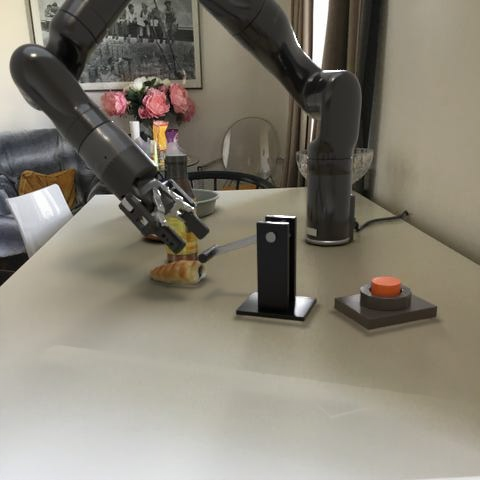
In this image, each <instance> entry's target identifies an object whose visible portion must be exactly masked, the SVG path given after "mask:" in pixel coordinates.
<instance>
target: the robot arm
mask: <svg viewBox="0 0 480 480" xmlns="http://www.w3.org/2000/svg"><path fill="white" fill-rule="evenodd" d="M131 1H132V0H64V2H63V3H62V4H61V5H60V7H59V8H58V10H57V11H56V12H55V13H54V15H53V16H52V18H51V20H50V22H49V24H48V39H47V43H46V45H45V46H44V45H42V44H39V43H33V42H32V43H31V42H30V43H24V44H21V45H19V46H17V48H15V49H14V50H13V51H12V54H11V56H10V59H9V66H8V67H9V68H8V69H9V74H10V77H11V79H12V82H13V84H14V85H15V86H16V88H17V89H18V91H19V93H20V95H21V96H22V98H23V99H24V101H25V102H26V103H27V105H29V106H30V107H31V108H33V109H34V110H36V111H38V112H42V113H43V114H45V115H46V117H48V119H49V120H50V121H51V122H52V124H53V126H54V128H55V129H56V130H57V132H58V133H59V135H60V136H61V137H62V139H63V140H64V141H65V142H66V143H67V144H68V145H69V146H70V147H71V148H72V149H73V150H74V151H75V152H76V154H78V155H79V157H80V158H81V159H82V161H83V162H84V163H85V165H86V166H87V167H88V169H89V170H90V171H91V172H92V173H93V174H94V175H95V176H96V177H97V178H98V179H99V180H100V181H101V183H102V184H104V185H105V187H106V188H107V189H108V190H109V191H110V192H111V193H112V194H113V195H114V196H115V197H116V198H117V199H118V200H119V201H120V203H119V204H118V208H119V210H120V211H121V212H122V213H123V214H124V215H125V216H126V218H128V219H129V220H130V222H131V223H132V224H133V225H134V226H135V227H136V229H137V230H138V231H139V232H140V234H141V233H142V234H143V235H144V236H148V235H149V234H152V235H153V236H155V237H157V236H158V237H159V238H160V239H161V240H162V243H164V245H165V244H166V245H167V246H168V247H169V249H170V250H171V251H172V252H173V253H174V254H178V253H180V252H181V251H182V250H183V249H184V248H185V246H186V242H185V241H184V240H183V239H182V238H181V237H180V236H179V235H178V234H177V233H176V232H175V231H174V230H173V229H172V227H171V226H170V225H169V226H167V222H166V219H165V217H164V216H165V215H166V216H168V217H170V218H172V217H175V218H177V219H179V220H181V221H182V222H185V223H184V224H185V225H186V226H187V227H188V228H189V229H190V231H191V232H192V233H193V234H194V235H195V236H196V237H197V238H198V241H199V240H200V241H201V240H203V239H205V238H206V236H207V235H208V234H209V233H210V228H209V227H208V226H207V225H206V223H204V222H203V221H202V219H200V217H197V215H196V214H195V213H194V212H195V210H194V209H195V208H196V207H197V205H196V203H195V202H194V201H193V200H192V199H191V198H190V197H189V196H188V195H187V194H186V193H185V192H184V191H183V190H182V189H181V188H180V187H179V186H178V185H177V184H176V183H175V182H174V181H173V180H172V179H169V180H168V179H167V181H166V182H165V183H164V182H163V183H162V182H161V181H160V180H159V179H158V178H157V173H158V165H157V164H156V163H155V161H154V160H152V159H151V157H150V156H149V155H148V154H147V153H146V152H145V151H144V150H143V149H142V148H141V147H140V146H139V145H138V144H137V143H136V142H135V141H134V139H133V138H132V137H131V136H130V135H129V134H128V133H127V132H126V131H124V130H123V129H122V128H121V127H120V126H119V125H118V124H116V123H115V121H113V120H112V118H111V117H110V116H109V115H108V114H107V113H106V112H105V111H104V110H103V109H102V108H101V107H100V106H99V105H98V104H97V103H96V102H95V101H94V100H93V99H92V98H91V97H90V96H89V94H87V93H86V92H85V90H84V89H83V87H82V85H81V84H80V83H79V81H80V79H81V77H82V75H83V73H84V71H85V68H86V66H87V63H88V61H89V60H90V57H91V56H92V54H93V53H94V52H95V51H96V50H97V49H98V47H99V46H100V44H101V43H102V42H103V41H104V40H105V38H106V36H107V35H108V34H109V32H111V30H112V28H113V27H114V26H115V24H116V23H117V22H118V20H119V18H120V17H121V16H122V14H123V13H124V12H125V10H126V9H127V7H128V6H129V4H130V3H131ZM196 1H197V3H198V4H200V5H201V7H203V8H204V9H205V10H206V12H208V13H209V15H210V16H212V17H213V18H214V19H215V20H216V21H217V22H218V24H220V25H221V27H223V28H224V30H226V32H227V33H228V34H229V35H230V36H231V37H232V38H233V39H234V40H235V41H236V42H237V43H238V44H239V45H240V46H241V47H242V48H243V49H244V50H245V51H247V52H248V53H249V54H250V55H251V56H252V57H253V58H254V59H255V60H256V61H257V62H258V63H259V64H260V65H261V66H262V67H263V68H264V69H265V70H266V71H267V72H268V73H270V74H271V76H273V77H274V78H275V79H276V80H277V81H278V83H280V84H281V85H282V87H283V88H284V90H286V91H287V93H288V94H289V95H290V97H291V98H292V99H293V100H294V101H295V103H296V105H298V107H299V108H300V109H301V110H302V112H304V113H305V115H306V116H307V117H309V118H310V119H312V120H314V121H318V122H319V132H318V134H317V136H316V137H315V138H314V139H313V140H311V141H310V142H309V143H308V144H307V148H306V196H305V197H306V198H305V199H306V201H305V202H306V203H305V236H304V237H305V238H304V239H305V242H306V243H308V244H311V245H316V246H327V247H328V246H331V247H333V246H341V245H345V244H348V243H350V242H354V238H355V237H354V236H355V234H354V232H355V231H357V232H359V231H361V230H362V229H363V228H366V226H368V225H371V224H373V223H379V222H385V221H393V220H398V219H402V217H403V216H404V215H406V216H409V215H410V214H409V211H408V210H407V209H404V210H402V212H401V213H400V214H398V215H393V216H387V217H379V218H373V219H370V220H366V221H365V222H364V223H362V224H361V225H360V223H359V221H357V218H356V195H355V194H352V192H353V172H354V171H353V170H354V169H353V167H354V150H355V147H356V145H357V143H358V140H359V135H360V134H359V132H360V125H361V124H360V123H361V112H362V98H363V97H362V88H361V84H360V81H359V79H358V77H357V76H356V75H355V74H354V73H353V72H351V71H349V70H344V69H343V70H341V69H340V70H338V69H337V70H324V69H322V68H321V67H319V66H318V65H317V64H316V63H315V62H314V61H313V60H312V59H311V58H310V56H308V55H307V54H306V52H304V50H303V49H302V48H301V46H300V44H299V43H298V40H297V38H296V34H295V31H294V28H293V24H292V22H291V20H290V18H289V16H288V14H287V12H286V11H285V9H284V8H283V6H281V4H280V3H279V2H278V1H277V0H196ZM183 199H184V200H185V201H186V202H187V203H188V204H186V203H184V202H183ZM178 211H180V212H181V213H182V214H181V213H179V212H178ZM142 220H143V221H142ZM166 226H167V227H166ZM142 234H141V235H142ZM143 235H142V236H143ZM144 236H143V237H144ZM166 245H165V246H166Z"/></svg>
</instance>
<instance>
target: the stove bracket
mask: <svg viewBox="0 0 480 480" xmlns="http://www.w3.org/2000/svg"><path fill="white" fill-rule="evenodd" d="M282 220H286V223H284V222H279V221H282ZM297 221H298V217H297V216H295V215H273V214H272V215H271V214H267V215H265V216H264V221H261V220H258V221H257V222H255V223H256V225H255V226H256V232H255V233H256V235H257V243H256V273H257V274H256V275H257V276H256V280H257V282H256V283H257V292H256V291H255V292H252V294H250V295H249V296H248V298H246V300H244V302H243V303H241V305H240V306H239V307H238V308H237V309H236V310H235V315H236V316H237V315H238V316H248V317H257V318H266V319H274V320H285V321H295V322H302V323H303V322H306V320H307V318H308V316H309V315H310V313H311V311H312V310H313V309H314V307H315V306H316V304H317V301H318V297H307V296H297V242H298V241H297V234H298V233H297V231H298V230H297V229H298V228H297V227H298V226H297V225H298V224H297V223H298V222H297ZM289 232H290V235H291V236H290V237H289Z"/></svg>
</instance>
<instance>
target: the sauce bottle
mask: <svg viewBox="0 0 480 480" xmlns="http://www.w3.org/2000/svg"><path fill="white" fill-rule="evenodd" d="M164 157H165V164H166V172H167V173H166V174H167V176H166V178H167V181H168V180H169V179H172V180H173V181H174V182H175V183H176V184H177V185H178V186H179V187H180V188H181V189H182V190H183V191H184V192H185V193H186V194H187V195H188V196H189V197H190V198H191V199H192V200H193V201H194V202H195V203H196V198H195V195H194V193H193V190H192V189H193V188H192V185H191V183H190V180H189V175H188V162H189V160H188V154H186V153H173V154H165V155H164ZM183 202H184V203H186V204H188V203H187V202H186V201H185V200H184V199H183ZM194 210H195V212H194V213H195V214H196V208H195V209H194ZM178 212H179V213H181V212H180V211H178ZM181 214H182V213H181ZM164 217H165V219H166V222H167V226H169V225H170V226H171V227H172V229H173V230H174V231H175V232H176V233H177V234H178V235H179V236H180V237H181V238H182V239H183V240H184V241H185V242H186V246H185V248H184V249H183V250H182V251H181V252H180V253H178V254H174V253H173V252H172V251H171V250H170V249H169V247H168V246H167V245H166V244H165V243H164V245H165V253H166V259H167V261H168V263H172V262H179V261H180V260H185V261H197V260H198V256H199V255H198V253H199V239H198V238H197V237H196V236H195V235H194V234H193V233H192V232H191V231H190V229H189V228H188V227H187V226H186V225H185V224H184V223H185V222H182V221H181V220H179V219H177V218H175V217H172V218H170V217H168V216H166V215H165V216H164ZM167 226H166V227H167Z"/></svg>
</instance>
